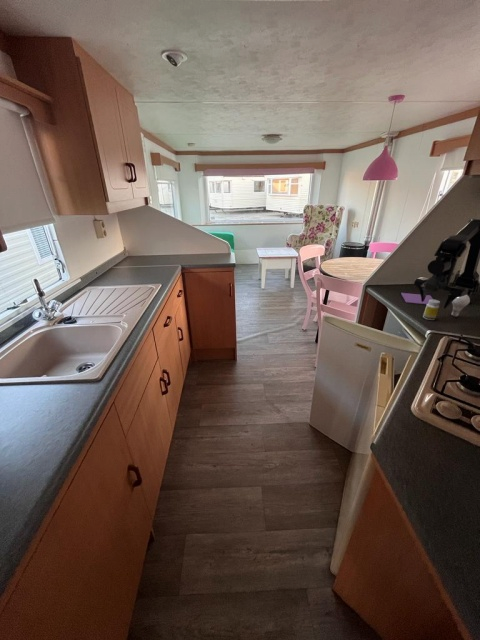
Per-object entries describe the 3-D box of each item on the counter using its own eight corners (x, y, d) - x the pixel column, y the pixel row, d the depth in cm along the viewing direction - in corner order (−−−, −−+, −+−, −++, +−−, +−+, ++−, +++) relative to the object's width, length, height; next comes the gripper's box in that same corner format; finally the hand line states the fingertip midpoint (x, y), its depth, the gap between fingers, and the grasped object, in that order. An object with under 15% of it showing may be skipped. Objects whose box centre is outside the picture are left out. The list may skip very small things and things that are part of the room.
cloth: (400, 293, 148) (401, 292, 147) (429, 296, 143) (430, 295, 143) (406, 302, 136) (406, 301, 136) (437, 305, 132) (438, 305, 131)
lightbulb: (455, 313, 124) (464, 290, 119) (466, 319, 118) (476, 296, 113) (442, 313, 124) (450, 291, 119) (452, 319, 118) (461, 296, 113)
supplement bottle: (437, 320, 117) (443, 303, 113) (425, 320, 118) (430, 302, 114) (432, 316, 121) (438, 299, 117) (420, 315, 122) (426, 298, 118)
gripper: (410, 267, 113) (401, 301, 120) (460, 279, 99) (446, 316, 106) (425, 264, 118) (416, 296, 125) (475, 274, 104) (461, 310, 111)
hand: (433, 304), depth 117 cm, fingers open, 9 cm apart
